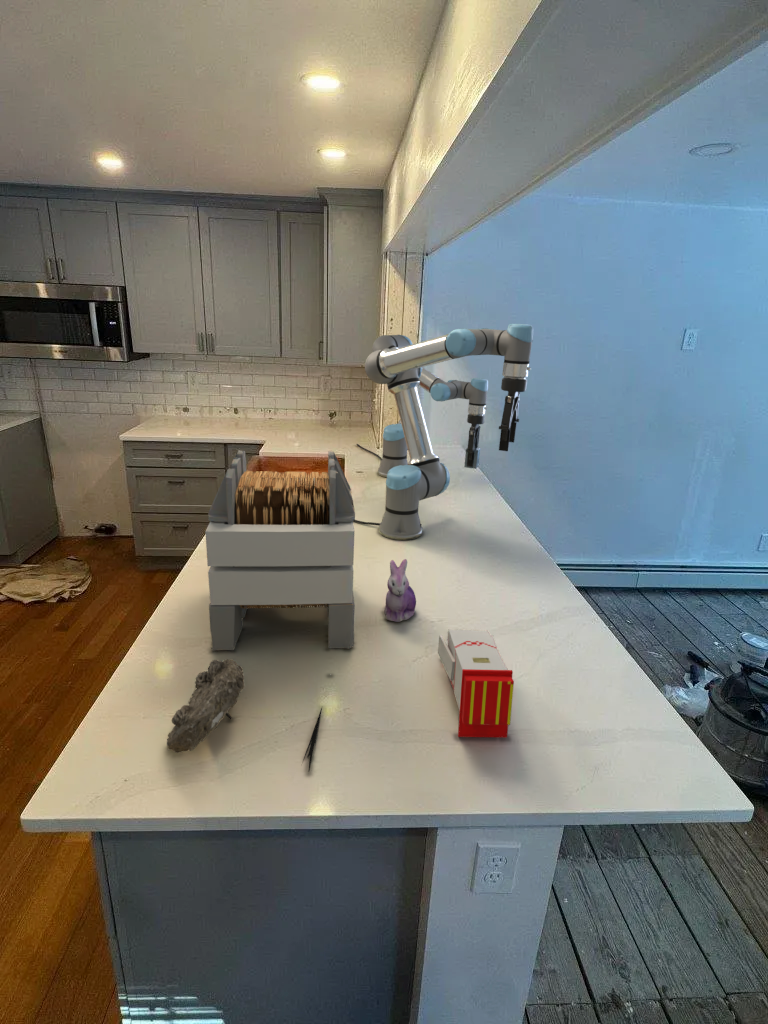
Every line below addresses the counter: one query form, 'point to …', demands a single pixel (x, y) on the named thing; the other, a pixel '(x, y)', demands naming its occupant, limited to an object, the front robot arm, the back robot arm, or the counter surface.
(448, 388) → the back robot arm
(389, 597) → the figurine
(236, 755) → the counter surface
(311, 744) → the feather
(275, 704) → the counter surface
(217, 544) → the transformer
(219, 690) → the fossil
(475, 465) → the brick
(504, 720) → the toy
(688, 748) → the counter surface
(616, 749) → the counter surface
